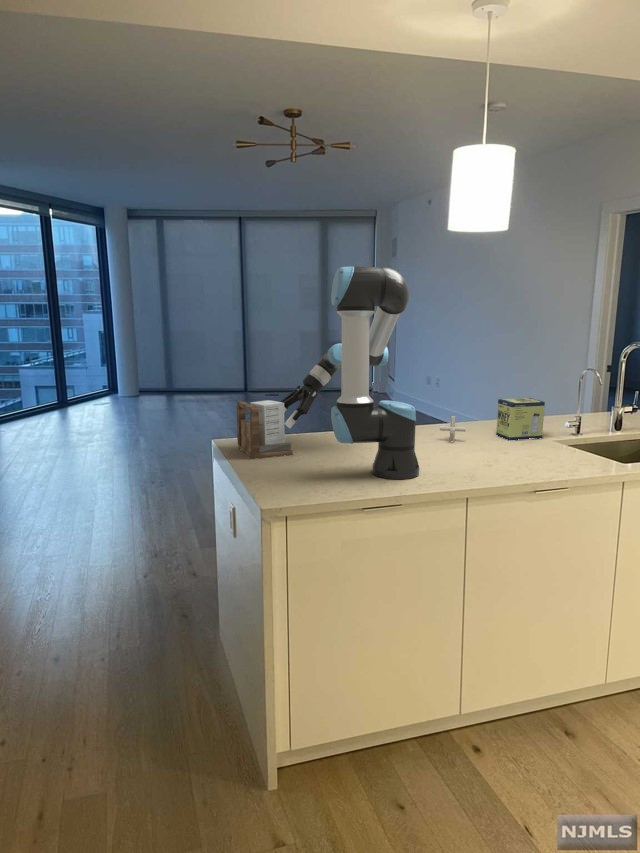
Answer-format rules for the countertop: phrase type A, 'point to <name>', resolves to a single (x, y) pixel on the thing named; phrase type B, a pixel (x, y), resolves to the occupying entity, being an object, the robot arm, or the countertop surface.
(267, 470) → the countertop surface
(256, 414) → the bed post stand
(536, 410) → the protein box
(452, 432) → the pipe connector
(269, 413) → the supplement box
